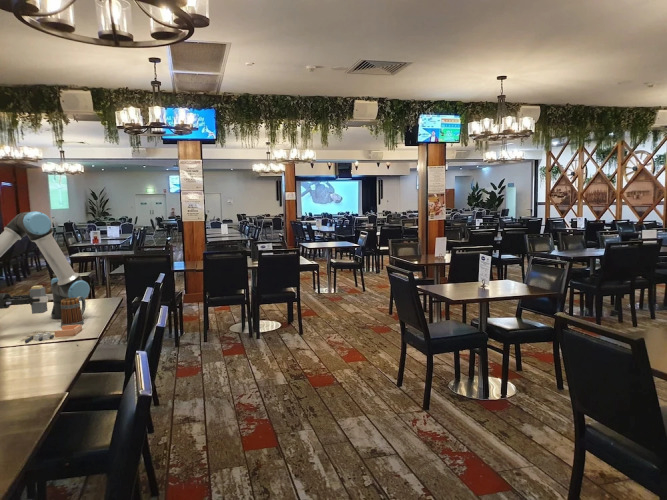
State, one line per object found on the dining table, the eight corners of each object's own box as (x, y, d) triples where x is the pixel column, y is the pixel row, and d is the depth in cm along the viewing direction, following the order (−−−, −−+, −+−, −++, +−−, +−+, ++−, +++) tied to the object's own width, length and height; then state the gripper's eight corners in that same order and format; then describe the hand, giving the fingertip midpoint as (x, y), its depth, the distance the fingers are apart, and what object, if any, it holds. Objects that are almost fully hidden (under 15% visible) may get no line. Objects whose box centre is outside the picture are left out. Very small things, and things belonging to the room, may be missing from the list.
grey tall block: (36, 311, 241) (33, 285, 240) (47, 310, 242) (44, 285, 240) (32, 313, 236) (29, 287, 235) (43, 313, 237) (40, 286, 235)
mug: (74, 330, 249) (71, 301, 247) (56, 329, 251) (53, 301, 250) (94, 322, 264) (92, 295, 263) (78, 321, 267) (75, 295, 265)
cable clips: (38, 338, 233) (38, 333, 232) (51, 337, 233) (50, 332, 233) (34, 340, 228) (34, 335, 228) (47, 339, 229) (46, 334, 229)
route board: (34, 334, 245) (34, 331, 244) (85, 330, 248) (84, 327, 248) (17, 345, 227) (17, 342, 227) (72, 340, 231) (72, 338, 231)
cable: (31, 338, 233) (31, 335, 232) (55, 336, 234) (55, 333, 234) (24, 343, 225) (24, 340, 225) (49, 341, 227) (48, 338, 227)
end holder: (63, 331, 243) (62, 325, 243) (82, 330, 244) (81, 324, 244) (55, 337, 233) (54, 331, 233) (75, 335, 235) (74, 329, 234)
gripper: (9, 304, 245) (58, 301, 248) (-11, 313, 227) (42, 309, 230) (7, 290, 244) (56, 287, 247) (-13, 297, 226) (40, 294, 230)
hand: (49, 297), depth 239 cm, fingers closed on grey tall block, 5 cm apart
